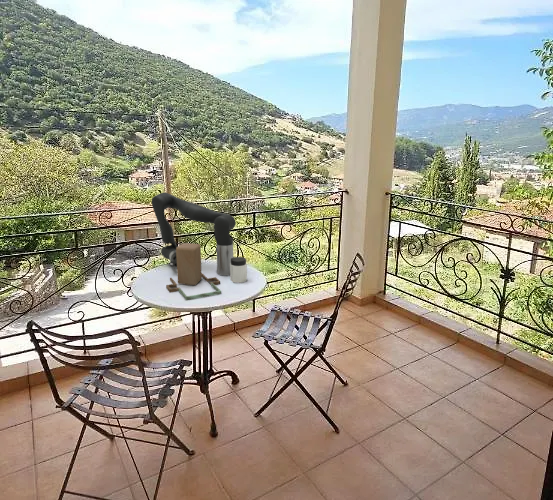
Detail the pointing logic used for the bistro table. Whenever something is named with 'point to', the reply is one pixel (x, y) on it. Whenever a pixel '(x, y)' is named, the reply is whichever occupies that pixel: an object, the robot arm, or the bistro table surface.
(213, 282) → the notched outline frame
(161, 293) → the bistro table surface
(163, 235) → the robot arm
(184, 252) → the block
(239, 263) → the jar
